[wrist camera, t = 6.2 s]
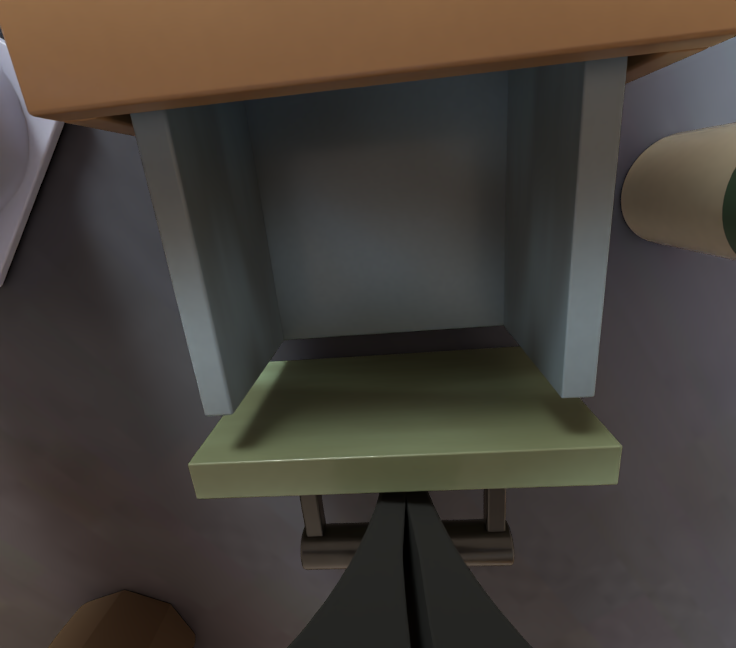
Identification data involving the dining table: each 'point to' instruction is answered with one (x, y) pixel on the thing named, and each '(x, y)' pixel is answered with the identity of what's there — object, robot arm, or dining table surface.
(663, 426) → the dining table surface
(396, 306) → the green drawer
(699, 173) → the jar
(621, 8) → the wooden drawer box
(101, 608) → the beer bottle
